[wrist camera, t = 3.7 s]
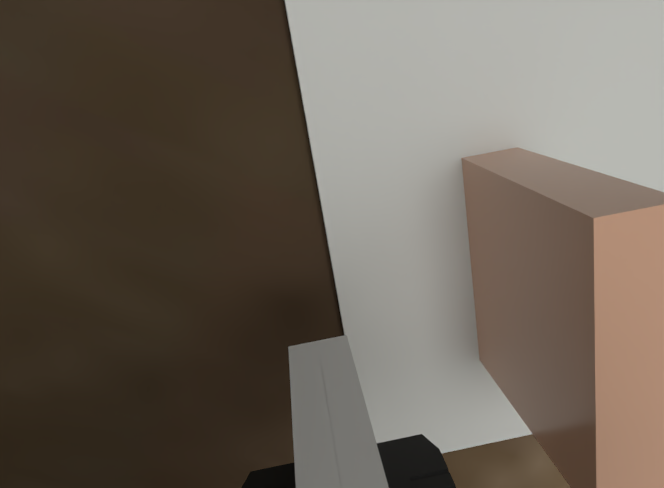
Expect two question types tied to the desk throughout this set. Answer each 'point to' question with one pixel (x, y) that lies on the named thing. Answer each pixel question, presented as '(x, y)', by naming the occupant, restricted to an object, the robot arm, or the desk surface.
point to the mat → (455, 168)
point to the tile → (572, 310)
